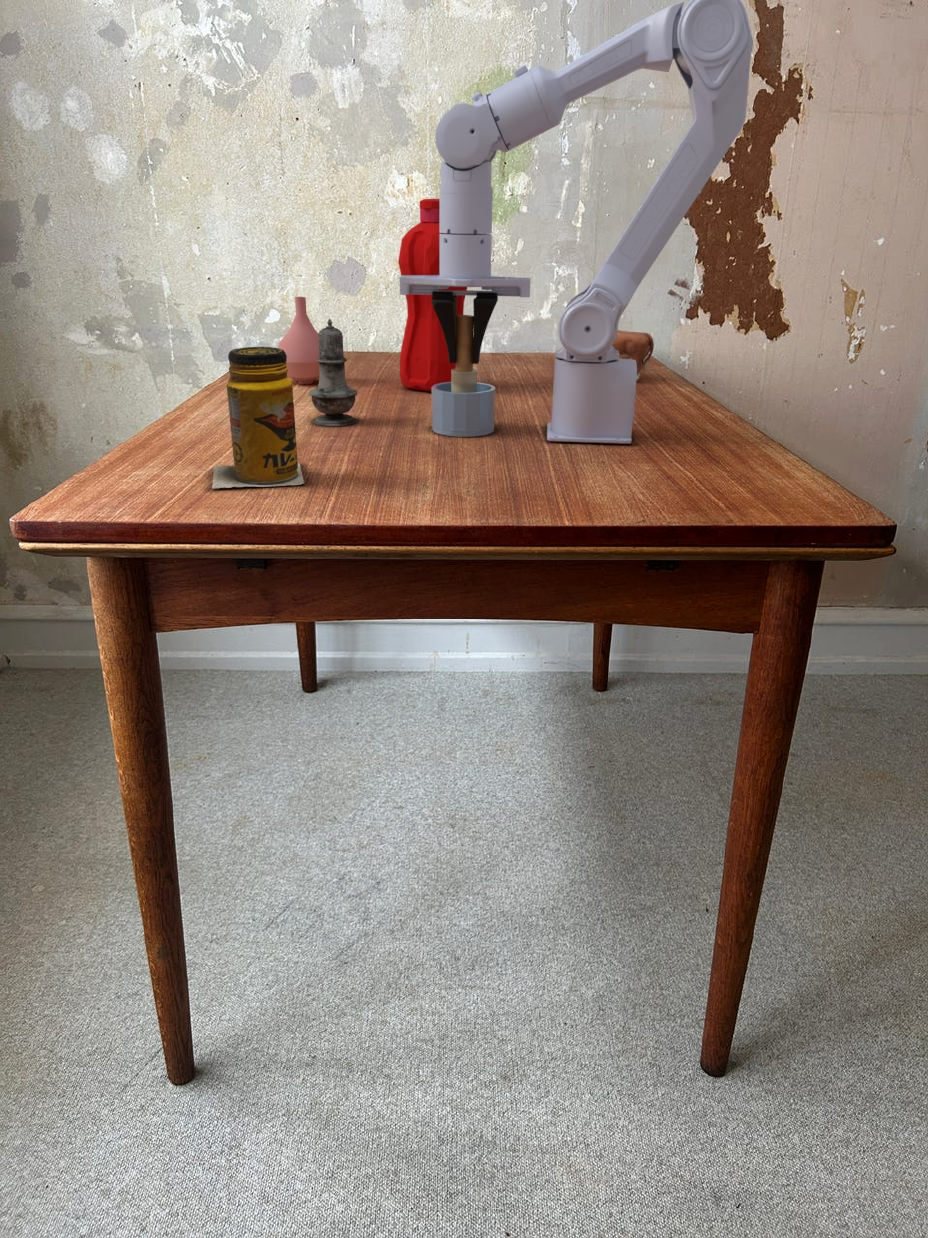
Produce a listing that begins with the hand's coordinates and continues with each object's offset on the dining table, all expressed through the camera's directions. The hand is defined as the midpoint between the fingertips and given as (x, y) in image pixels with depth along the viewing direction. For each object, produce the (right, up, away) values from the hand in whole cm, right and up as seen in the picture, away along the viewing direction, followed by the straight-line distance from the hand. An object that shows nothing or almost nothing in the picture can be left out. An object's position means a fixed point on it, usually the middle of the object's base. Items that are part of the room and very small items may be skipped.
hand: (464, 362), depth 103 cm
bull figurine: (+23, +8, +38) cm, 45 cm away
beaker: (0, -7, +3) cm, 8 cm away
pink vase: (-24, +5, +30) cm, 38 cm away
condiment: (-20, -16, -16) cm, 30 cm away
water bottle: (-4, +4, +28) cm, 29 cm away
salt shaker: (-16, -6, +6) cm, 18 cm away
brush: (0, -3, +1) cm, 3 cm away
